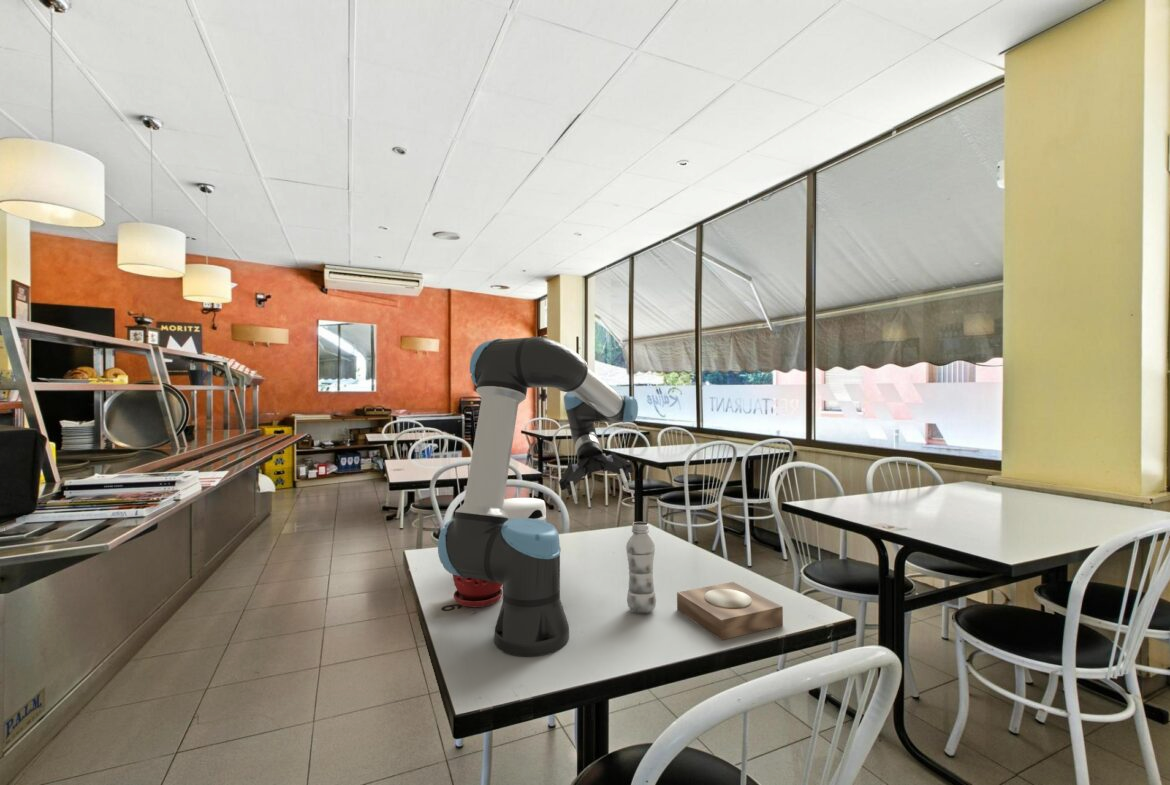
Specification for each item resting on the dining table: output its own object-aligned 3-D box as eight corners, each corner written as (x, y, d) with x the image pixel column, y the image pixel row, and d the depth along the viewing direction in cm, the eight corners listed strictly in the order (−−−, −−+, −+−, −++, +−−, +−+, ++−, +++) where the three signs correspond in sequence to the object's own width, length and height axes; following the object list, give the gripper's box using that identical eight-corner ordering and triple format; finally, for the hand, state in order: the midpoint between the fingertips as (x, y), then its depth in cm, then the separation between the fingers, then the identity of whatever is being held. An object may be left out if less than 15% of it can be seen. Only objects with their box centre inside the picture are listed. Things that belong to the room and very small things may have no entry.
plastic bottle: (661, 614, 115) (660, 525, 115) (634, 619, 112) (633, 528, 113) (647, 603, 121) (646, 519, 121) (622, 608, 118) (620, 522, 119)
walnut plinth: (721, 640, 102) (721, 618, 102) (677, 609, 117) (676, 590, 117) (782, 625, 109) (782, 604, 109) (733, 598, 123) (733, 580, 123)
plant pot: (480, 616, 115) (480, 562, 115) (440, 603, 122) (440, 553, 122) (518, 596, 126) (517, 548, 126) (479, 586, 133) (479, 540, 133)
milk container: (484, 559, 156) (483, 500, 156) (537, 551, 163) (537, 495, 163) (499, 577, 140) (498, 511, 140) (558, 567, 147) (557, 505, 148)
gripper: (632, 453, 152) (650, 492, 132) (550, 473, 151) (556, 516, 131) (628, 431, 149) (646, 468, 129) (544, 452, 148) (550, 492, 128)
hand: (601, 492), depth 130 cm, fingers open, 13 cm apart
